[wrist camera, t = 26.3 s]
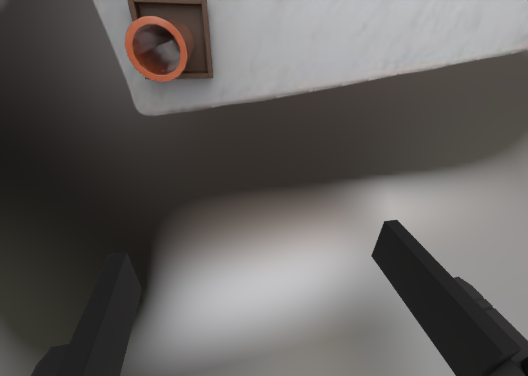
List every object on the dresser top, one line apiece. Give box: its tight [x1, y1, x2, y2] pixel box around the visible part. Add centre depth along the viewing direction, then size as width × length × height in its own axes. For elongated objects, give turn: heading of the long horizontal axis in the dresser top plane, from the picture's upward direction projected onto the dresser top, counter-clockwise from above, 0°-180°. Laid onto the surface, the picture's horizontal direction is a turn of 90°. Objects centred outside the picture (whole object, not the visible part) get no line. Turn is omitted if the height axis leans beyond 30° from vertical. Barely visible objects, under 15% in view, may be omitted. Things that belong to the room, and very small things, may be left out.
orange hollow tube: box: [125, 16, 195, 82], centre depth 25 cm, size 4×4×14 cm
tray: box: [128, 0, 213, 79], centre depth 30 cm, size 8×8×3 cm
